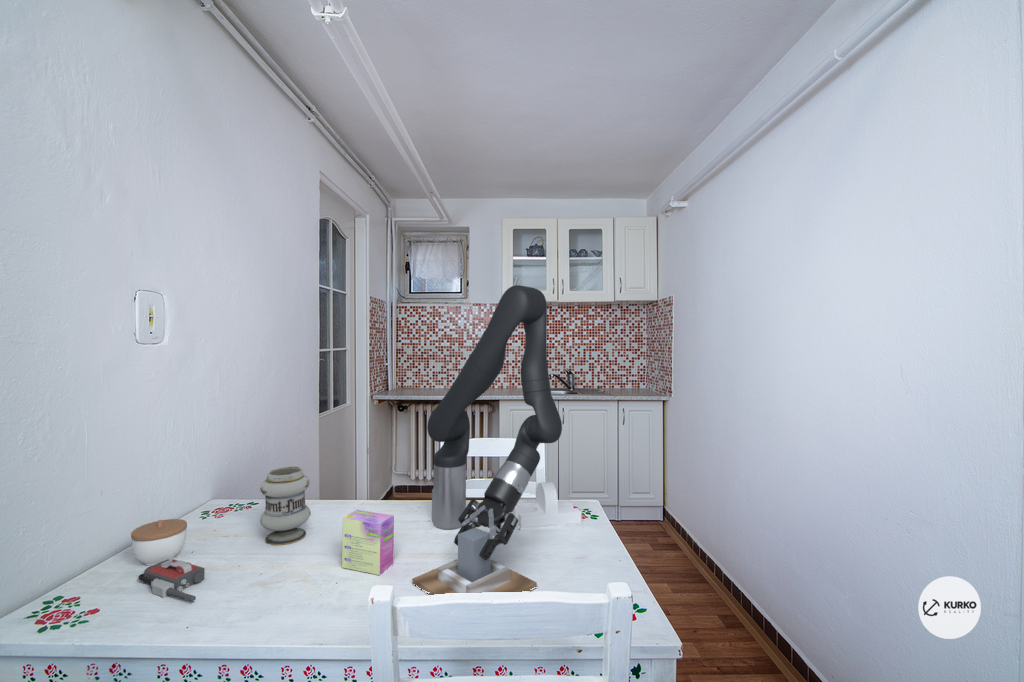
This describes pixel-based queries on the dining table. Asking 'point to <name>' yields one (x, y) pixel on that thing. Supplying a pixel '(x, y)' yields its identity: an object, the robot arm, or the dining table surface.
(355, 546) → the box
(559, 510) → the white base with disc
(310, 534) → the dining table surface
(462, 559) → the gray rectangular block
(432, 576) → the pocket plate
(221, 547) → the dining table surface
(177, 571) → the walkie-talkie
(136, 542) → the lidded jar
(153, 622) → the dining table surface
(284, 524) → the apothecary jar
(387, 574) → the dining table surface
